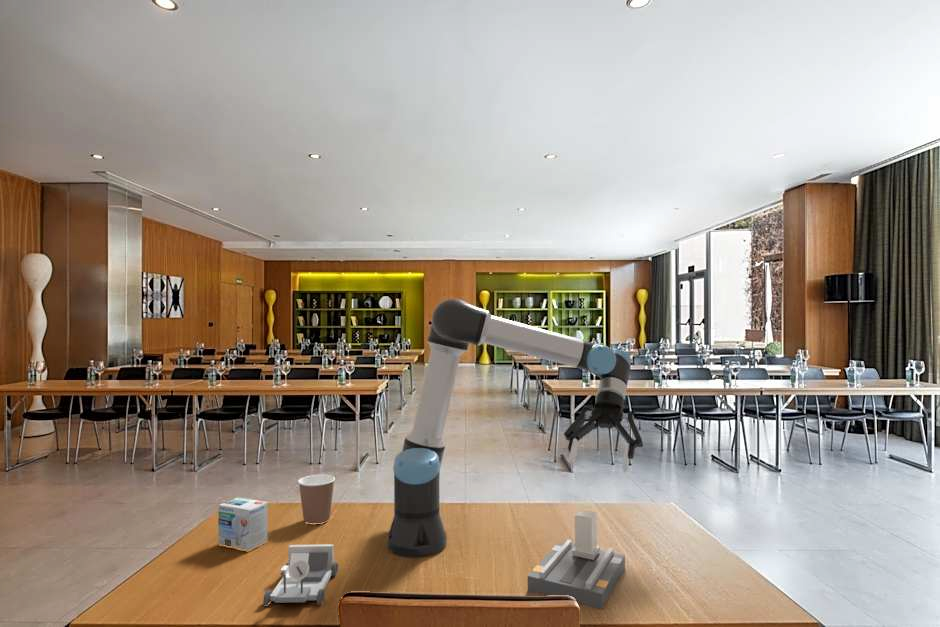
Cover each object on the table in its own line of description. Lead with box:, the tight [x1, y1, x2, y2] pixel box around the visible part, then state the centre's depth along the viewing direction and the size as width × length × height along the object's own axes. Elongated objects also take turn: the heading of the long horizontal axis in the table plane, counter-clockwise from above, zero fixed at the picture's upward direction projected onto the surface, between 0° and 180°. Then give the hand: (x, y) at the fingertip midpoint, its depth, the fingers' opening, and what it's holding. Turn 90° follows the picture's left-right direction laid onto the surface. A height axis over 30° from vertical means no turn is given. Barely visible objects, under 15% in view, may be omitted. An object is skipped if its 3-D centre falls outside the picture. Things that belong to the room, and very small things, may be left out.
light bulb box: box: [217, 497, 269, 550], centre depth 139 cm, size 11×7×11 cm, turn 68°
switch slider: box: [572, 509, 601, 560], centre depth 125 cm, size 5×5×9 cm
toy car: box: [262, 543, 339, 607], centre depth 114 cm, size 18×10×12 cm
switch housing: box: [527, 539, 626, 610], centre depth 119 cm, size 16×20×4 cm
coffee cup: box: [297, 474, 336, 523], centre depth 155 cm, size 10×10×12 cm
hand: (597, 466), depth 135 cm, fingers open, 13 cm apart
